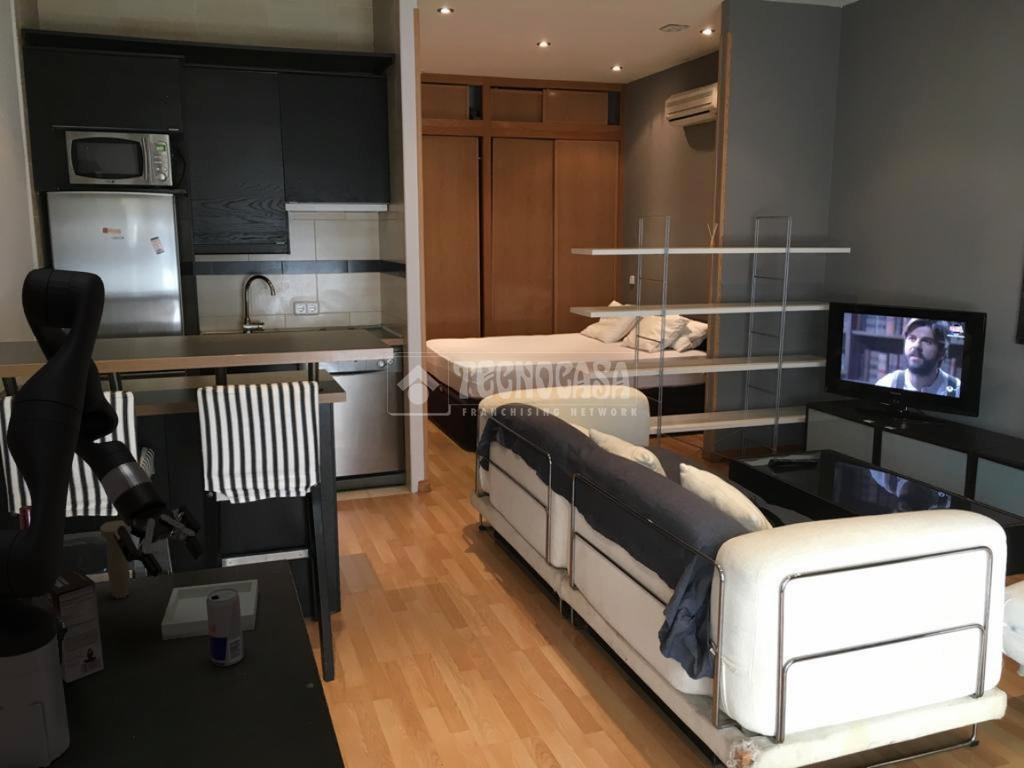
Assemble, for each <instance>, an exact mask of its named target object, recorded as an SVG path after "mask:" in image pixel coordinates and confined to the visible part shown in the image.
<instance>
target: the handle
mask: <svg viewBox="0 0 1024 768" xmlns="http://www.w3.org/2000/svg"><path fill="white" fill-rule="evenodd" d="M119 526H124V527H128V525H126V524H125V523H124V521H123V520H122V519H121V520H111V521H108V522H105V523H103V524H101V525H100V529H99V530H100V532H99V533H100V535H101V537H102V538H105V541H106V560H107V575H108V582H109V586H110V590H111V596H112V597H113V598H115V599H116V600H120V599H125V598H127V597H128V596H129V595H130V594H131V588H130V586H131V583H130V582H131V580H130V579H131V577H130V565H129V562H128V561H127V560H126V558H125V557H124V555H123V553H122V551H121V549H120V548H119V546H118V544H117V542H116V540H115V539H114V537H113V535H114V534H115V532H116V531H117V529H118V528H119ZM127 595H128V596H127ZM119 598H120V599H119Z"/></svg>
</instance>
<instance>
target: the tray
mask: <svg viewBox="0 0 1024 768" xmlns="http://www.w3.org/2000/svg"><path fill="white" fill-rule="evenodd" d="M258 584H259V583H258V579H257V578H256V579H248V580H239V581H230V582H221V583H220V582H219V583H212V584H210V583H209V584H203V585H201V584H200V585H192V586H185V587H184V586H183V587H173V589H172V592H171V594H170V598H169V600H168V605H167V606H166V609H165V613H164V617H163V618H162V621H161V625H160V626H161V638H162V641H169V639H171V640H177V638H180V639H188V638H195V637H194V636H196V637H203V636H209V627H208V615H207V603H206V601H207V596H208V595H209V594H210V593H211V592H213V591H215V590H219V589H226V588H230V589H235V590H236V591H237V592H238V595H239V599H240V612H241V625H242V632H244V631H252V630H255V628H256V619H257V609H258V601H259V598H258V597H259V585H258ZM187 637H188V638H187Z"/></svg>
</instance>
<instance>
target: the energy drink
mask: <svg viewBox="0 0 1024 768" xmlns="http://www.w3.org/2000/svg"><path fill="white" fill-rule="evenodd" d="M206 603H207V615H208V627H209V635H208V637H209V648H210V659H211V660H210V662H211V663H212V664H214V665H215V666H218V667H229V666H233V665H236V664H238V663H240V662H241V660H242V659H243V658H244V656H245V653H244V642H243V641H244V640H243V631H242V625H241V612H240V599H239V595H238V592H237V591H236V590H235V589H230V588H226V589H219V590H215V591H213V592H211V593H210V594H209V595H208V596H207V601H206Z"/></svg>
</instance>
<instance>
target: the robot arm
mask: <svg viewBox="0 0 1024 768" xmlns="http://www.w3.org/2000/svg"><path fill="white" fill-rule="evenodd" d="M103 281H104V280H102V278H101V276H99V275H98V274H96V273H93V272H88V271H80V270H79V271H78V270H70V269H69V270H68V269H58V268H57V269H56V268H33V269H31V270H30V271H28V273H27V274H26V276H25V277H24V280H23V284H22V290H21V303H22V308H23V313H24V314H23V315H24V316H25V319H26V321H27V324H28V326H29V328H30V330H31V332H32V334H33V336H34V337H35V340H36V342H37V344H38V346H39V348H40V350H41V351H42V353H43V355H44V356H45V359H46V363H45V364H44V365H43V366H41V367H40V368H39V369H38V370H37V371H36V372H35V373H33V375H31V377H29V378H28V380H26V381H25V383H24V384H23V385H22V386H21V387H20V388H19V390H17V392H16V394H15V396H14V399H13V402H12V406H11V411H10V415H9V419H8V420H9V421H8V425H7V430H6V435H5V436H6V437H5V438H6V439H5V440H6V446H7V449H8V451H9V454H10V455H11V458H12V460H13V462H14V463H15V465H16V467H17V469H18V471H19V473H20V474H21V476H22V478H23V481H24V483H25V484H26V487H27V490H28V492H29V497H30V516H29V517H30V518H29V524H28V527H27V529H8V530H7V529H3V530H2V529H1V530H0V768H39V767H44V768H47V766H48V767H50V765H51V763H52V762H53V761H54V760H56V759H57V758H59V757H61V755H63V754H64V753H65V751H67V750H68V749H69V747H70V744H71V737H70V730H69V722H68V720H69V719H68V715H67V714H68V713H67V709H66V707H67V705H66V699H65V698H66V697H65V692H64V691H65V690H64V683H63V681H64V680H63V679H62V673H61V665H60V657H59V648H58V640H57V633H56V632H57V631H56V623H55V619H54V616H53V615H52V614H51V613H50V612H49V611H47V610H45V609H43V608H41V607H39V606H36V605H33V604H31V603H28V602H27V601H25V600H23V599H27V598H30V599H31V598H39V597H40V596H44V595H46V594H48V593H49V592H50V591H51V590H52V589H53V587H54V585H55V583H56V581H57V578H58V575H59V572H61V571H60V570H61V565H62V560H63V551H64V541H65V526H66V525H65V524H66V516H67V502H68V494H69V486H70V481H71V475H72V468H73V463H74V458H75V455H77V456H78V457H79V458H80V459H82V461H84V462H85V463H86V465H87V466H88V467H89V468H90V470H91V471H92V472H93V474H94V475H95V477H96V478H97V480H98V482H99V484H100V485H101V487H102V489H103V491H104V493H105V495H106V497H107V498H108V500H109V501H110V502H111V504H112V506H113V507H114V509H115V511H116V512H117V514H118V515H119V516H120V518H121V521H124V523H125V524H126V525H128V527H124V526H119V528H118V529H117V531H116V532H115V534H114V535H113V537H114V539H115V540H116V542H117V544H118V546H119V548H120V549H121V551H122V553H123V555H124V557H125V558H126V560H127V561H128V563H131V562H133V561H139V562H141V564H142V566H143V567H144V568H145V570H146V571H147V573H148V574H149V575H150V576H153V578H157V577H159V576H160V575H161V574H162V572H163V567H162V566H161V565H160V563H159V561H158V560H157V559H156V557H155V555H154V554H153V553H152V552H151V551H150V550H151V544H152V545H153V544H155V543H157V542H158V541H161V540H166V539H168V538H170V539H173V540H179V541H180V542H182V543H185V544H184V545H185V547H186V549H187V550H188V551H189V553H190V555H191V556H192V558H193V559H194V560H195V561H198V560H200V559H201V558H202V557H203V555H204V548H203V547H202V545H201V544H200V542H199V540H198V538H197V537H196V536H197V535H198V534H199V532H200V531H201V530H202V526H201V525H200V523H199V522H198V521H197V519H196V518H195V517H194V515H193V514H192V512H191V511H190V510H189V509H188V507H187V506H186V505H185V504H180V505H179V507H178V508H176V509H173V510H171V509H169V508H168V507H167V506H166V502H165V499H164V497H162V495H161V493H160V492H159V490H158V489H157V486H156V485H155V484H154V483H153V481H152V480H151V478H150V476H149V475H148V473H147V471H145V470H144V468H143V467H141V465H140V464H139V462H138V461H137V460H136V458H135V457H134V455H133V453H132V452H131V451H130V449H129V448H128V446H127V445H126V443H124V442H123V441H121V440H118V439H117V440H108V441H103V442H95V441H97V440H99V439H102V438H104V437H106V436H109V435H111V434H112V433H114V432H115V431H116V430H117V429H118V425H119V415H118V413H117V411H116V410H115V408H114V407H113V406H112V405H111V403H110V402H109V401H108V399H107V398H106V395H105V394H104V391H103V387H102V382H101V377H100V372H99V369H98V366H97V364H96V363H95V360H94V359H93V358H92V356H93V352H94V349H95V345H96V340H97V337H98V333H99V329H100V326H101V322H102V318H103V317H102V316H103V312H104V307H105V300H106V299H105V298H106V288H105V284H104V282H103ZM64 329H66V330H67V329H69V331H68V334H67V333H66V332H65V330H64ZM175 519H176V520H175ZM174 529H175V530H174ZM131 536H134V537H136V538H138V543H137V544H138V545H137V546H136V545H135V542H134V541H133V539H132V537H131ZM150 552H151V553H150Z"/></svg>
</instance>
